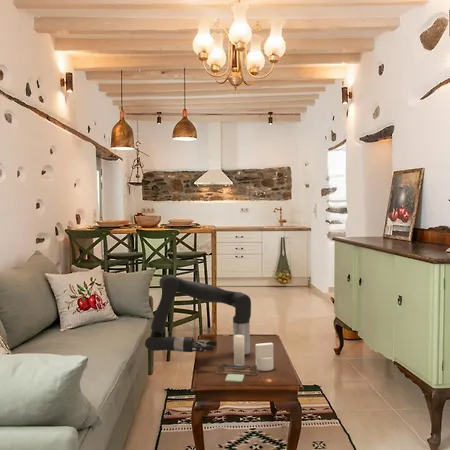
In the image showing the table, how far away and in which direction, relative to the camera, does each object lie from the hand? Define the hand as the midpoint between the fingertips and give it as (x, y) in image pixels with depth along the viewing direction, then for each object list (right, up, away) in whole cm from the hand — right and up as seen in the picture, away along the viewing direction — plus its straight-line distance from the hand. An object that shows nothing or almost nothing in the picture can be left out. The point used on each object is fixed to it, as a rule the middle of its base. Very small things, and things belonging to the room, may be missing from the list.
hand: (215, 345), depth 234 cm
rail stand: (+11, -11, -9) cm, 18 cm away
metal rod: (+11, -8, -10) cm, 16 cm away
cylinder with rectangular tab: (+25, -11, -2) cm, 27 cm away
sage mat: (+10, -11, -17) cm, 22 cm away
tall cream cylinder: (+12, -10, -2) cm, 16 cm away
